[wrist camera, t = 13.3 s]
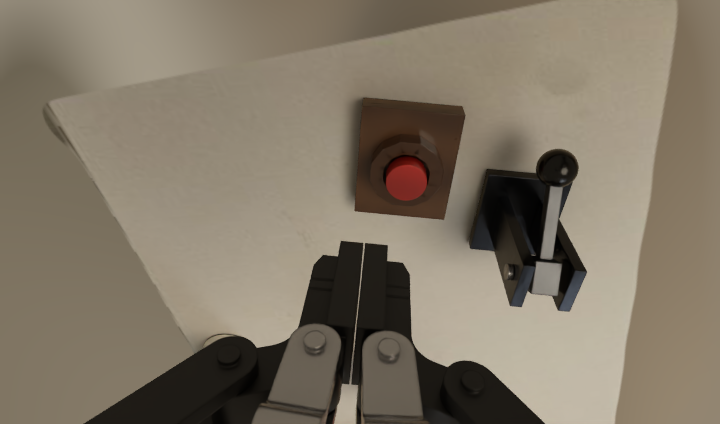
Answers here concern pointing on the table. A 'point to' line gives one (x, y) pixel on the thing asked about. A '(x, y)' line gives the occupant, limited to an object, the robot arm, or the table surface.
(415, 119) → the button block
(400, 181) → the button
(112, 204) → the table surface
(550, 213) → the switch lever
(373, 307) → the robot arm
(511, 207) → the switch bracket
